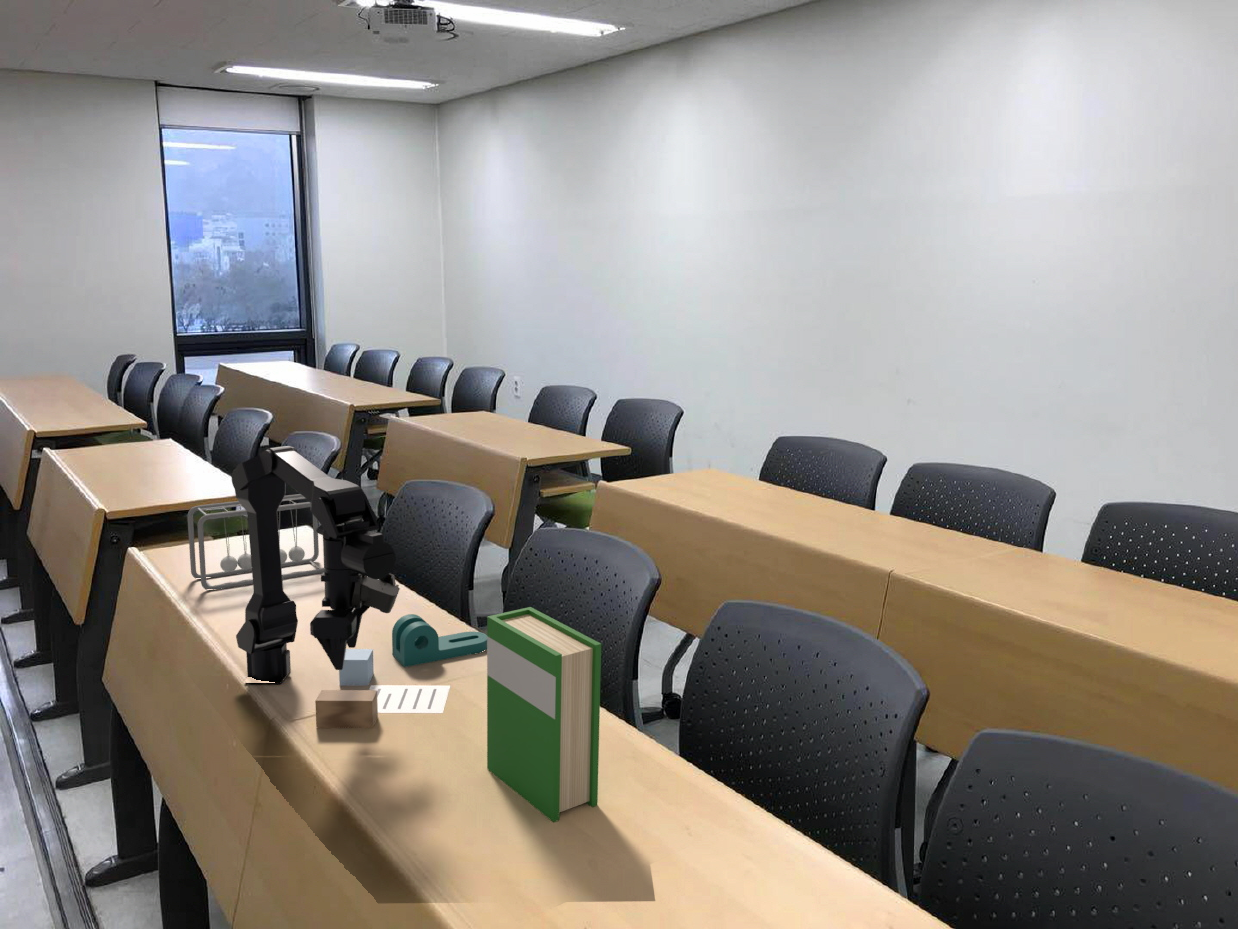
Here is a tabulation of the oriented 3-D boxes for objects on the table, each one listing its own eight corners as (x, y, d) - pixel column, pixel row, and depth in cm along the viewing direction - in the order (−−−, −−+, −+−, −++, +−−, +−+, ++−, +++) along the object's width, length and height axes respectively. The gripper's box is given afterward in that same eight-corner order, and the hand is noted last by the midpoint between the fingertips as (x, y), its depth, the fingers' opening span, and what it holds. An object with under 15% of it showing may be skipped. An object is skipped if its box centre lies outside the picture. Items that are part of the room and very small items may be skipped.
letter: (357, 713, 164) (357, 712, 164) (371, 685, 174) (371, 685, 174) (442, 713, 164) (442, 713, 164) (450, 686, 175) (450, 685, 175)
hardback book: (597, 805, 138) (601, 643, 133) (553, 822, 133) (556, 655, 128) (529, 755, 151) (530, 606, 147) (487, 769, 147) (487, 616, 142)
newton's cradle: (318, 561, 246) (315, 491, 242) (333, 572, 238) (330, 500, 234) (190, 580, 229) (186, 506, 225) (202, 593, 220) (197, 516, 217)
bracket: (404, 668, 183) (403, 628, 181) (392, 656, 188) (391, 617, 187) (493, 651, 192) (493, 613, 190) (479, 640, 198) (479, 602, 196)
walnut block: (316, 729, 158) (315, 700, 157) (322, 718, 162) (321, 690, 161) (372, 729, 158) (372, 701, 157) (377, 718, 162) (377, 690, 161)
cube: (339, 686, 174) (338, 659, 173) (345, 674, 179) (345, 649, 178) (368, 686, 174) (367, 660, 173) (373, 675, 179) (373, 649, 178)
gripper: (383, 583, 146) (385, 682, 149) (404, 548, 164) (406, 637, 167) (307, 583, 145) (311, 682, 148) (336, 548, 164) (339, 636, 167)
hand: (345, 658), depth 158 cm, fingers open, 9 cm apart
